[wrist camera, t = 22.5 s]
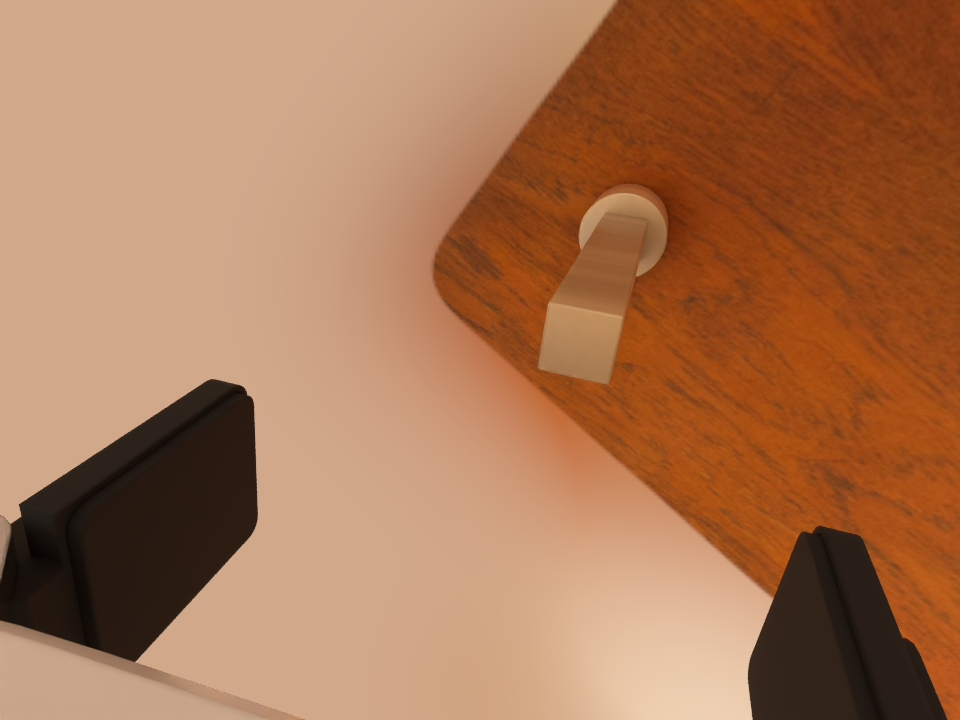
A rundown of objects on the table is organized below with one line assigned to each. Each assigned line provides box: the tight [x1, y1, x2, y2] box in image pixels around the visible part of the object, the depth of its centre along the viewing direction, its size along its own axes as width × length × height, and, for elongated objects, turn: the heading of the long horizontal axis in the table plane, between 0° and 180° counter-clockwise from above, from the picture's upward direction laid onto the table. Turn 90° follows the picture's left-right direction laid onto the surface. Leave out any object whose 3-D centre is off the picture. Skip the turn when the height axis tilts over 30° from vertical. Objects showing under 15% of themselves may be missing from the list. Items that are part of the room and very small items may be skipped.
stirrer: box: [538, 184, 668, 384], centre depth 23 cm, size 4×4×16 cm
